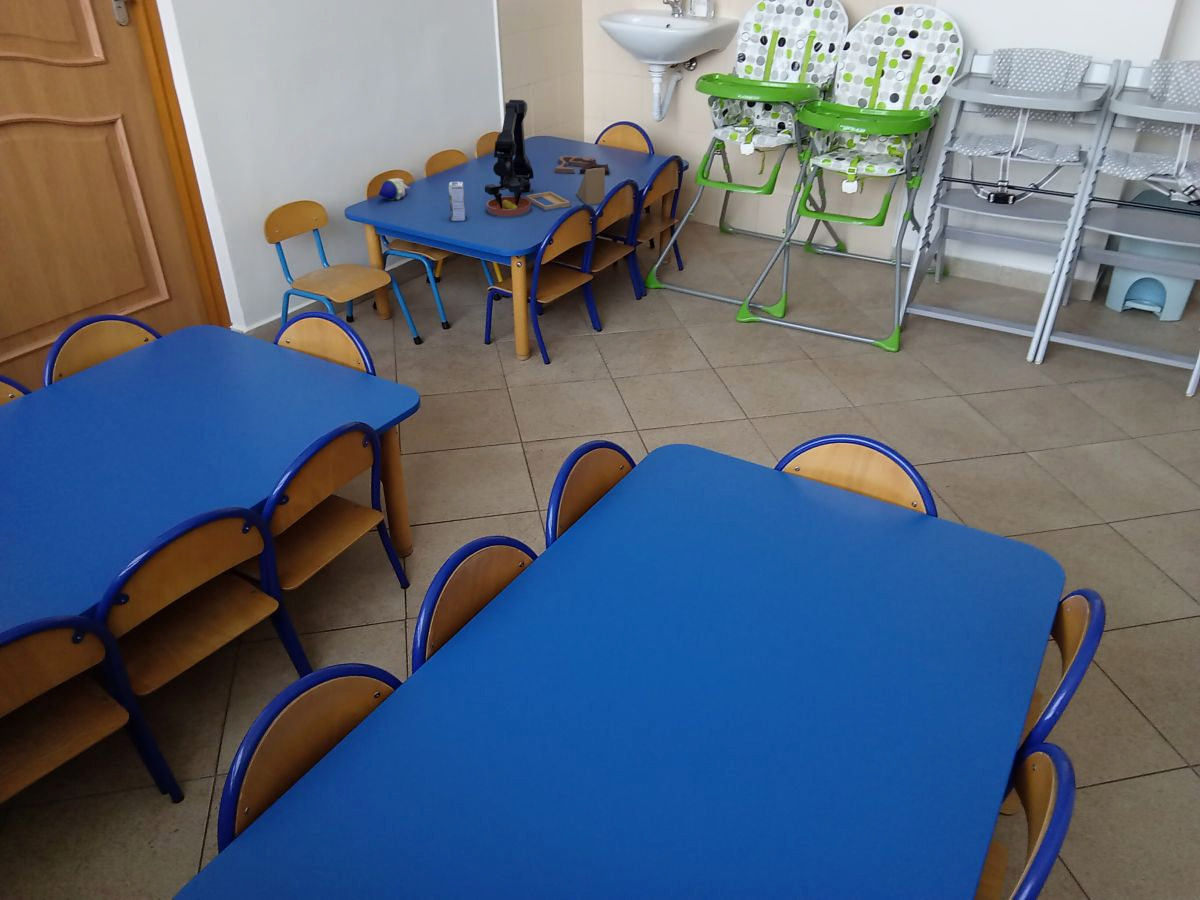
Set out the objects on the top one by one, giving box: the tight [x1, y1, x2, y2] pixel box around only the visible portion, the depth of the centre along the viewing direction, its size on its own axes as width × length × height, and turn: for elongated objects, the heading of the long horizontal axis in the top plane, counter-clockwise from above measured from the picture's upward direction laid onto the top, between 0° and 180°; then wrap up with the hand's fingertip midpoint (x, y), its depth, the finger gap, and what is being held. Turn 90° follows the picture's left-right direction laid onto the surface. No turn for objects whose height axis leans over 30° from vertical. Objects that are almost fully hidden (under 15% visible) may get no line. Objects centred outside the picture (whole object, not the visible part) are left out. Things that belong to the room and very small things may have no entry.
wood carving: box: [554, 155, 610, 176], centre depth 431 cm, size 28×2×24 cm
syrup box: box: [448, 181, 466, 222], centre depth 363 cm, size 6×6×14 cm
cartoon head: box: [378, 177, 411, 201], centre depth 388 cm, size 9×10×20 cm
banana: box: [503, 200, 518, 209], centre depth 375 cm, size 12×4×3 cm, turn 31°
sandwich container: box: [576, 168, 606, 205], centre depth 385 cm, size 9×15×15 cm, turn 18°
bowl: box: [486, 195, 532, 217], centre depth 375 cm, size 18×18×3 cm
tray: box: [525, 191, 571, 211], centre depth 383 cm, size 18×12×2 cm
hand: (508, 207), depth 375 cm, fingers open, 7 cm apart
